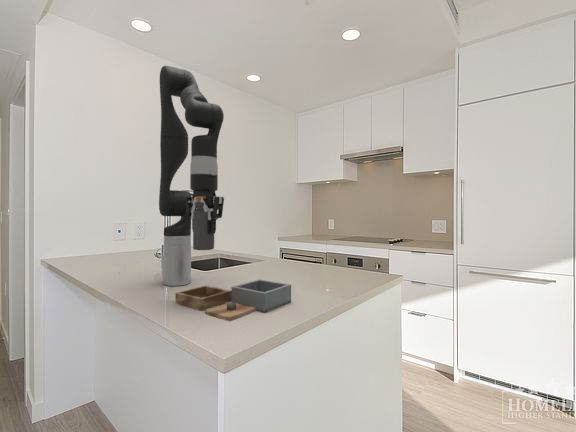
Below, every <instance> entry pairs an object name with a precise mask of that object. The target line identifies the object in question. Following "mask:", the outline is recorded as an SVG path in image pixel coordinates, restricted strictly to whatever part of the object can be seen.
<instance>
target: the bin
mask: <svg viewBox="0 0 576 432" xmlns="http://www.w3.org/2000/svg"><path fill="white" fill-rule="evenodd" d="M230 291H231V301H230V302H234V303H238V304H243V305H247V306H251V307H255V308H256V311H255V312H259V313H264V314H265V313H268V312H271V311H273V310H275V309H277V308H279V307H280V308H281V307H283V306H284V305H287V304H290V303H291V302H292V284H289V283H282V282H278V281H271V280H265V279H256V280H252V281H249V282H244V283H240V284H238V285H233V286H231V290H230Z"/></svg>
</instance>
